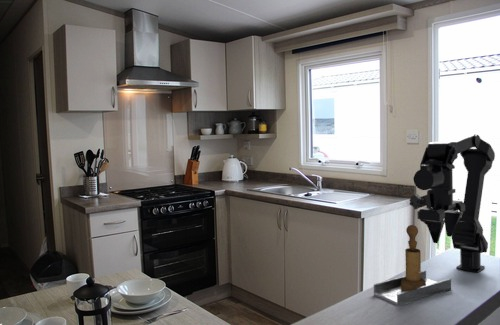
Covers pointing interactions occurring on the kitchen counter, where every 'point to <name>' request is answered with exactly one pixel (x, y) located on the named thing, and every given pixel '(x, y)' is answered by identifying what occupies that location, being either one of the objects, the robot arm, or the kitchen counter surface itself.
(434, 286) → the floor track
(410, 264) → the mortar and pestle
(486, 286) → the kitchen counter surface
